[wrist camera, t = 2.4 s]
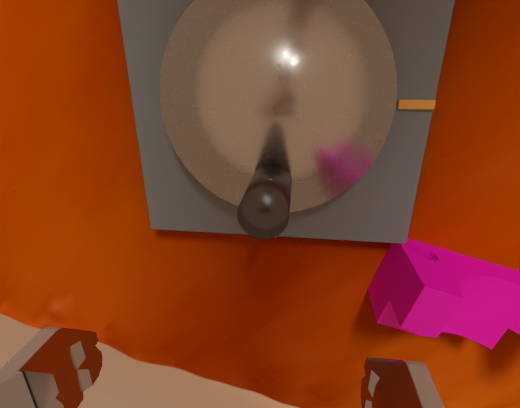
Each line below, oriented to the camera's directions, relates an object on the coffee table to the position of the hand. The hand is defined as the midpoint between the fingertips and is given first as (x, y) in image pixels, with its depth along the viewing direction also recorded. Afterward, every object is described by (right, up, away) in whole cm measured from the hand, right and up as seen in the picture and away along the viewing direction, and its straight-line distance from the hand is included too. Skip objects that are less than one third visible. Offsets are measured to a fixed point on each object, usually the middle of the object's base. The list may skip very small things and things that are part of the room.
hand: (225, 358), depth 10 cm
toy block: (+19, -3, +20) cm, 28 cm away
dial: (+2, +12, +14) cm, 18 cm away
